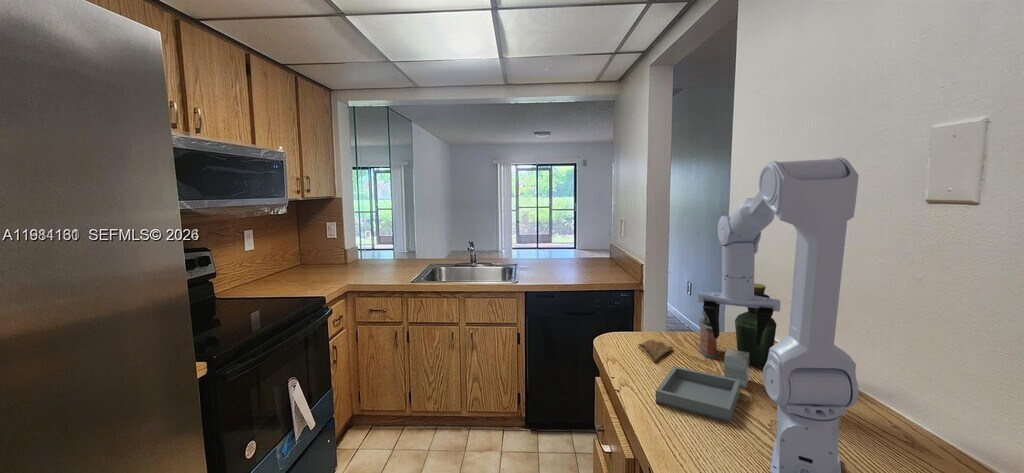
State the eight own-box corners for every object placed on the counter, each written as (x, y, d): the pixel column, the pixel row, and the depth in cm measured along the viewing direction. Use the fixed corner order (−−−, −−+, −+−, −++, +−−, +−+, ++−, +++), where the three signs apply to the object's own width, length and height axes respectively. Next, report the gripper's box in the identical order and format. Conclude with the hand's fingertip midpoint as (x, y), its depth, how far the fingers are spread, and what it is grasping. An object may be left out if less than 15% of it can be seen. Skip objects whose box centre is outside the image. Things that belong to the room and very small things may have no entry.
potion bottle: (768, 373, 87) (770, 291, 85) (728, 362, 93) (729, 286, 91) (780, 361, 92) (782, 284, 90) (742, 352, 98) (743, 279, 96)
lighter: (720, 359, 95) (720, 318, 94) (704, 358, 96) (705, 317, 95) (710, 346, 103) (710, 308, 102) (696, 345, 104) (696, 307, 103)
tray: (729, 423, 70) (729, 409, 70) (655, 403, 77) (655, 390, 77) (740, 392, 80) (740, 380, 80) (674, 377, 87) (673, 366, 87)
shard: (653, 365, 94) (653, 358, 94) (624, 357, 100) (624, 350, 100) (674, 351, 102) (674, 344, 102) (645, 344, 107) (645, 337, 107)
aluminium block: (746, 387, 82) (746, 359, 81) (724, 382, 84) (724, 355, 83) (748, 379, 85) (749, 352, 84) (727, 375, 87) (727, 348, 86)
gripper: (782, 274, 81) (780, 340, 82) (703, 268, 89) (703, 328, 91) (779, 281, 75) (777, 352, 77) (695, 275, 84) (695, 338, 85)
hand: (737, 339), depth 83 cm, fingers open, 7 cm apart
